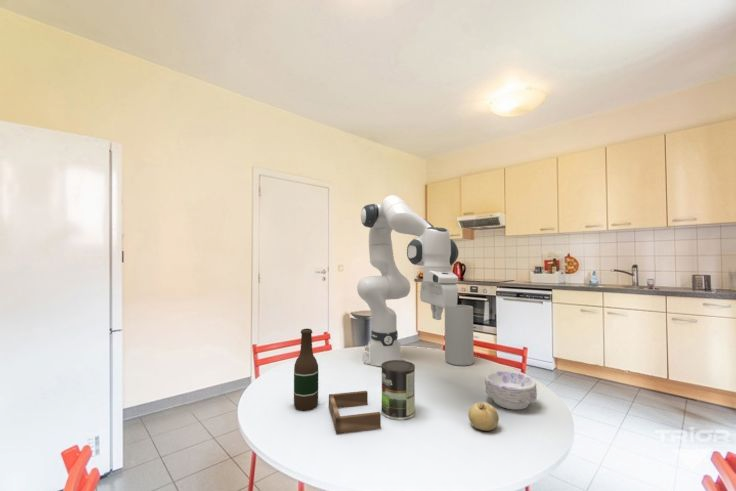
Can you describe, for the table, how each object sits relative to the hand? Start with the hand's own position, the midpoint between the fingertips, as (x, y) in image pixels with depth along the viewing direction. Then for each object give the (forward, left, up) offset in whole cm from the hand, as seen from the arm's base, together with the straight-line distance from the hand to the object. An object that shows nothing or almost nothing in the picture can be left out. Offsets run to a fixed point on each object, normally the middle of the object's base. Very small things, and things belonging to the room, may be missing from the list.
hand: (436, 319), depth 106 cm
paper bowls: (+5, +23, -27) cm, 36 cm away
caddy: (+2, -28, -27) cm, 39 cm away
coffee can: (+2, -14, -27) cm, 31 cm away
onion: (+16, +6, -27) cm, 32 cm away
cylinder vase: (-38, +29, -27) cm, 55 cm away
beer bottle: (-9, -41, -27) cm, 50 cm away
